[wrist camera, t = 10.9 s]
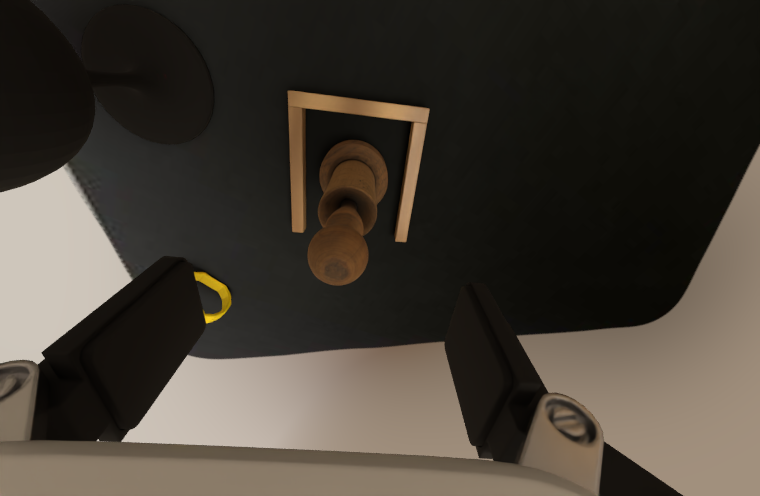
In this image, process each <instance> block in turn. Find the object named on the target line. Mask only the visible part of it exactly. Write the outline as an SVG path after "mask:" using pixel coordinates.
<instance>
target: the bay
mask: <svg viewBox="0 0 760 496" xmlns="http://www.w3.org/2000/svg"><path fill="white" fill-rule="evenodd" d="M288 106H289V107H288V113H289V144H290V176H291V208H292V232H301V233H303V232H304V230H305V228H306V108H308V109H316V110H324V111H332V112H340V113H348V114H356V115H364V116H372V117H380V118H388V119H396V120H404V121H412V124H411V130H410V137H409V143H408V150H407V156H406V163H405V169H404V176H403V182H402V189H401V195H400V202H399V208H398V215H397V221H396V228H395V234H394V236H395V241H398V242H406V239H407V234H408V228H409V222H410V217H411V211H412V205H413V200H414V194H415V188H416V183H417V177H418V172H419V166H420V160H421V155H422V149H423V143H424V138H425V132H426V127H427V121H428V115H429V110H430V109H429V108H424V107H417V106H409V105H401V104H393V103H386V102H378V101H370V100H362V99H355V98H347V97H339V96H331V95H324V94H316V93H308V92H300V91H293V90H288Z"/></svg>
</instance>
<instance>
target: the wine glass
mask: <svg viewBox="0 0 760 496" xmlns="http://www.w3.org/2000/svg"><path fill="white" fill-rule="evenodd" d="M81 52H82V62H83V63H82V62H81V60H80V58H79V57H78V55H77V53H76V52H75V50H74V48H73V47H72V46H71V44H70V43H69V42H68V40H67V39H66V38H65V36H64V35H63V34H62V33H61V32H60V30H59V29H58V28H57V27H56V26H55V25H54V24H53V23H52V22H51V20H50V19H49V18H48V17H47V16H46V15H45V14H44V13H43V12H42V11H41V10H40V9H39V8H37V7H36V6H35V5H34V4H33V3H32V2H31V1H30V0H0V192H4V191H7V190H10V189H14V188H18V187H21V186H24V185H27V184H29V183H32V182H34V181H37V180H38V179H40V178H42V177H44V176H46V175H48V174H50V173H52V172H54V171H56V170H58V169H59V168H61V167H62V166H64V165H65V164H66V163H67V162H68V161H69V160H71V159H72V158H73V157H74V156H75V155H76V154H77V153H78V152H79V151H80V149H81V148H82V146H83V145H84V144H85V142H86V141H87V139H88V137H89V134H90V132H91V129H92V127H93V122H94V115H95V99H94V94H95V95H96V97H97V98H98V100H99V102H100V103H101V104H102V106H103V107H104V108H105V109H106V111H107V112H108V113H109V114H110V115H111V116H112V117H113V118H114V119H115V120H116V121H117V122H119V123H120V124H121V125H122V126H123V127H125V128H126V129H128V130H129V131H131V132H132V133H134V134H136V135H138V136H140V137H141V138H144V139H146V140H149V141H152V142H156V143H160V144H179V143H183V142H187V141H190V140H192V139H194V138H195V137H197V136H198V135H199V134H201V133H202V132H203V130H204V129H205V128H206V127H207V125H208V123H209V121H210V119H211V116H212V113H213V107H214V90H213V84H212V80H211V77H210V73H209V71H208V68H207V66H206V64H205V61H204V59H203V58H202V56H201V54H200V53H199V51H198V49H197V48H196V47H195V45H194V44H193V42H192V41H191V40H190V39H189V38H188V37H187V36H186V34H185V33H184V32H183V31H182V30H181V29H179V28H178V27H177V26H176V25H175V24H173V23H172V22H171V21H169V20H168V19H166V18H165V17H163V16H162V15H160V14H158V13H155V12H153V11H151V10H149V9H146V8H142V7H139V6H135V5H127V4H123V5H114V6H110V7H107V8H105V9H103V10H101V11H100V12H98V13H97V14H96V15H95V16H94V17H93V18H92V19H91V20H90V22H89V23H88V25H87V27H86V29H85V32H84V35H83V38H82V47H81ZM93 92H94V94H93Z"/></svg>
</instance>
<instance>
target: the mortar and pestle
mask: <svg viewBox="0 0 760 496" xmlns="http://www.w3.org/2000/svg"><path fill="white" fill-rule="evenodd" d="M319 177H320V184H321V188H322V190H323V192H324V194H323V196H322V198H321V200H320V203H319V206H318V217H319V220H320V223H321V225H322V226H323V229H321V230H320V231H318V232H317V233H316V234H315V236H314V237H313V238H312V240H311V242H310V244H309V248H308V263H309V266H310V268H311V270H312V272H313V273H314V275H315V276H316V277H317V278H319V279H320V280H321V281H323V282H325V283H327V284H331V285H345V284H348V283H351V282H353V281H354V280H356V279H357V278H358V277H359V276H360V275H361V274H362V273H363V271H364V270H365V268H366V265H367V262H368V248H367V244H366V242H365V240H364V238H363V237H362V236H363V235H365V234H367V233H368V232H369V231H370V230H371V229H372V227H373V226H374V224H375V222H376V218H377V206H376V204H378V203H379V202H380V200H381V199H382V198H383V196H384V194H385V192H386V189H387V184H388V174H387V168H386V164H385V162H384V159H383V157H382V156H381V154H380V153H379V152H378V150H377V149H375V148H374V147H373V146H372V145H370V144H368V143H366V142H364V141H360V140H346V141H343V142H340V143H338V144H336V145H335V146H333V147H332V148H331V149H330V150H329V152H328V153H327V155H326V156H325V158H324V160H323V162H322V164H321V167H320V174H319Z"/></svg>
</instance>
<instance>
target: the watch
mask: <svg viewBox="0 0 760 496" xmlns="http://www.w3.org/2000/svg"><path fill="white" fill-rule="evenodd" d="M194 275H195V279H196V281H200V282H202V283H204V284H205V285H207V286H209V287H210V288H212V289H214V290H216V291H217V292H218V293H219V295H220V297H221V299H222V310H221V311H220V312H218V313H216V314H205V312H204V310H203V312H204V316H205V320H206V323H210V322H213V321H215V320H217V319H219V318H220V317H221V316H222V315H224V314H225V313H226V312H227V310H228V309H229V307H230V306H231V295H230V292H229V290H228V288H227V286H226V285H224V284H222V283H221V282H219V281H217V280H216V279H214V278H212V277H211V276H209V275H208V274H206V272H205V273H204V272H194Z"/></svg>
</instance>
